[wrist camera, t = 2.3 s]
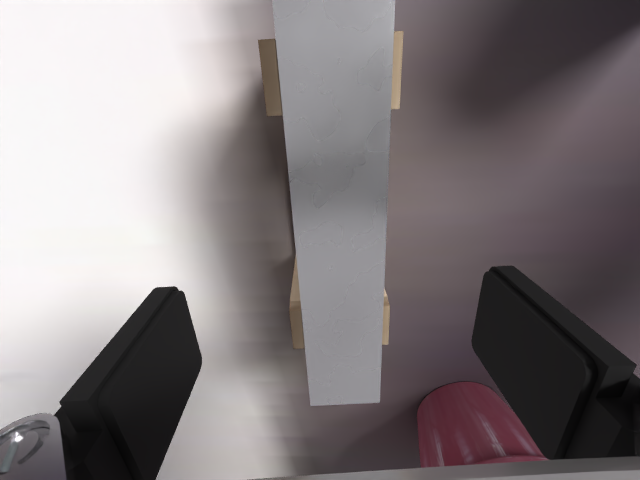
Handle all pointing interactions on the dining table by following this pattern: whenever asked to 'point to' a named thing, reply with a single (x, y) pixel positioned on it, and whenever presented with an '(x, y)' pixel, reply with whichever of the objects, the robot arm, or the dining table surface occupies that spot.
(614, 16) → the dining table surface
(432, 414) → the plant pot
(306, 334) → the block
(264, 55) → the rack
